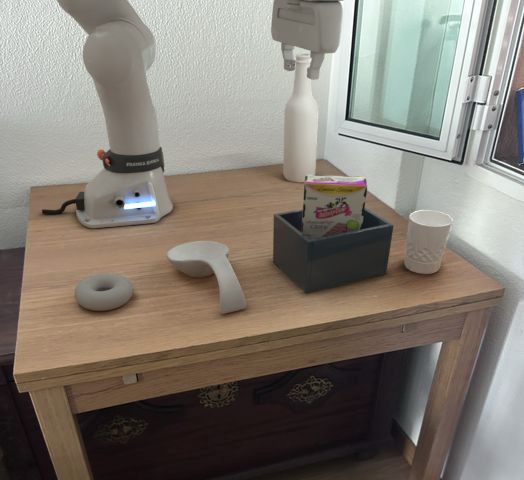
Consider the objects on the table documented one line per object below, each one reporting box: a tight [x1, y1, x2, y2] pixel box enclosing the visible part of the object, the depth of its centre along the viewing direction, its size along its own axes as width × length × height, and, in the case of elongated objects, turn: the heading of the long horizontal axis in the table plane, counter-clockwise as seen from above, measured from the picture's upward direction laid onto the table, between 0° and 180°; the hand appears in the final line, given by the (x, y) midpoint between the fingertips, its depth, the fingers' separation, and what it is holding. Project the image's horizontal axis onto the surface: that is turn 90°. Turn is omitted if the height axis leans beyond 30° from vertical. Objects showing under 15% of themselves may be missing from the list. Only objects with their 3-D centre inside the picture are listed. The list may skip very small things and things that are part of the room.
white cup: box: [403, 209, 454, 275], centre depth 103 cm, size 8×8×10 cm
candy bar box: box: [301, 174, 368, 240], centre depth 100 cm, size 11×5×16 cm, turn 85°
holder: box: [272, 207, 395, 294], centre depth 103 cm, size 18×14×10 cm
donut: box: [74, 272, 134, 312], centre depth 95 cm, size 10×4×10 cm
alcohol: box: [282, 53, 320, 183], centre depth 140 cm, size 9×9×30 cm
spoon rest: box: [166, 240, 247, 315], centre depth 99 cm, size 24×12×7 cm, turn 26°
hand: (300, 74), depth 101 cm, fingers open, 8 cm apart
